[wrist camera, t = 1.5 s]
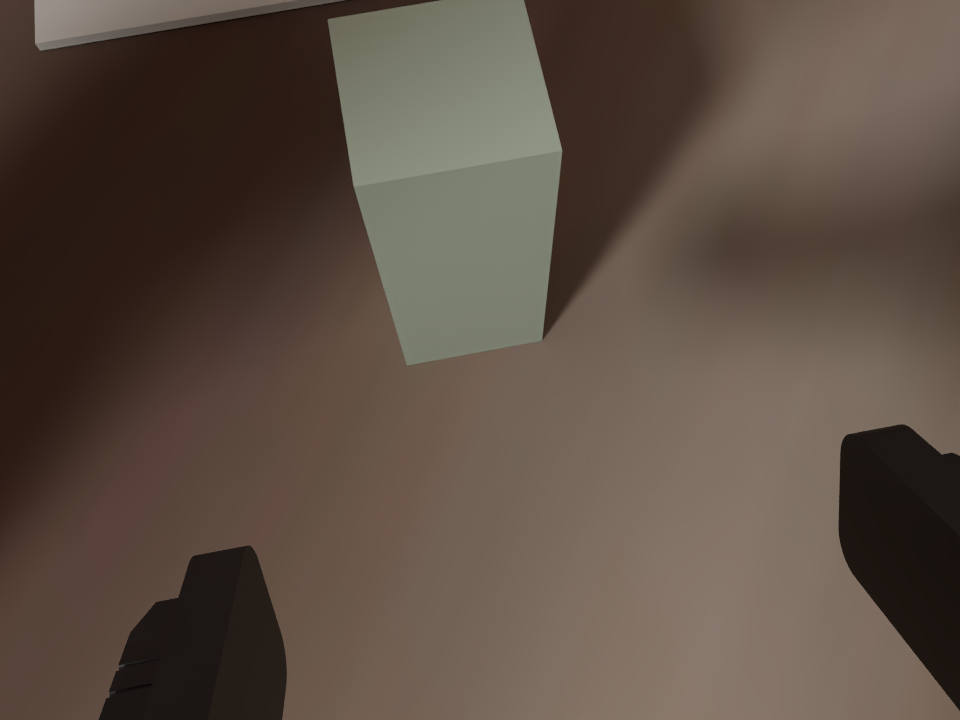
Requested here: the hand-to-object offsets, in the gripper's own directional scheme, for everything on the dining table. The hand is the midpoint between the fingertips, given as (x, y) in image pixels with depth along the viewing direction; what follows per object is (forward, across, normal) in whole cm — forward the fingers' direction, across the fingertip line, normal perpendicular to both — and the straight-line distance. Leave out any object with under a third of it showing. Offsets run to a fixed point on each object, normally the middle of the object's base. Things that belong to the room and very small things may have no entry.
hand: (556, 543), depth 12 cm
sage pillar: (+18, 0, +3) cm, 19 cm away
